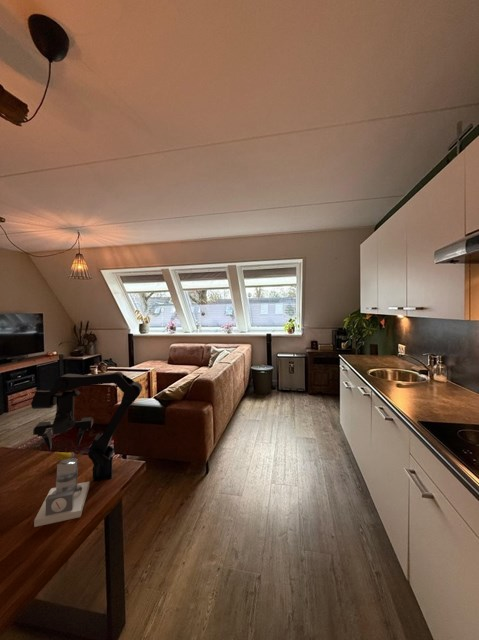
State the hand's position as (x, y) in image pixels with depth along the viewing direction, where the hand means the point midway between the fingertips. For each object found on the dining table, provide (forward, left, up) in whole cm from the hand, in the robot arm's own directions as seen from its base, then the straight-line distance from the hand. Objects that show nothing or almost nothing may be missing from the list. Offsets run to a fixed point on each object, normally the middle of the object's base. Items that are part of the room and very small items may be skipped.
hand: (64, 447), depth 101 cm
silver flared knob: (-4, +14, -4) cm, 15 cm away
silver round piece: (-4, +14, -10) cm, 17 cm away
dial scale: (-4, +16, -12) cm, 21 cm away
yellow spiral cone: (+2, -12, -13) cm, 18 cm away
